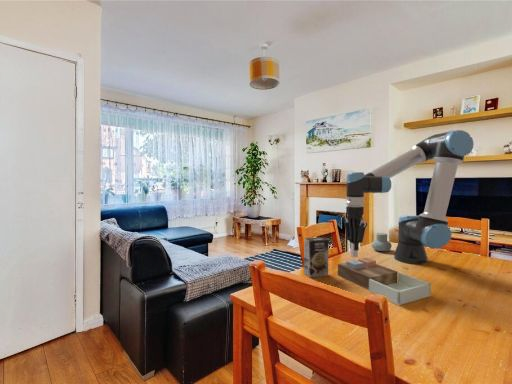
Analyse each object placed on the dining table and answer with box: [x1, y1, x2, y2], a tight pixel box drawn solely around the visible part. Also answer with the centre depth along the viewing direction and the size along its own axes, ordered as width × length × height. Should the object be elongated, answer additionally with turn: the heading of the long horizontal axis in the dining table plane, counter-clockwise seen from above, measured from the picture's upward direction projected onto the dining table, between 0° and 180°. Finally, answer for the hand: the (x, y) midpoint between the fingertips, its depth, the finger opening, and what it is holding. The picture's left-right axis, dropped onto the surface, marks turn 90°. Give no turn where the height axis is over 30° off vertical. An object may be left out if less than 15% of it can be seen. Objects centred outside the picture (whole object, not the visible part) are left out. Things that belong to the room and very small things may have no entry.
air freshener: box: [371, 232, 392, 253], centre depth 159 cm, size 11×8×10 cm
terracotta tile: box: [358, 257, 377, 267], centre depth 119 cm, size 5×5×2 cm
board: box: [337, 259, 399, 291], centre depth 115 cm, size 15×18×5 cm
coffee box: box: [303, 236, 330, 278], centre depth 121 cm, size 9×6×16 cm
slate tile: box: [345, 259, 364, 269], centre depth 116 cm, size 5×5×2 cm
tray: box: [368, 272, 432, 306], centre depth 101 cm, size 17×13×5 cm
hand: (354, 256), depth 126 cm, fingers closed
